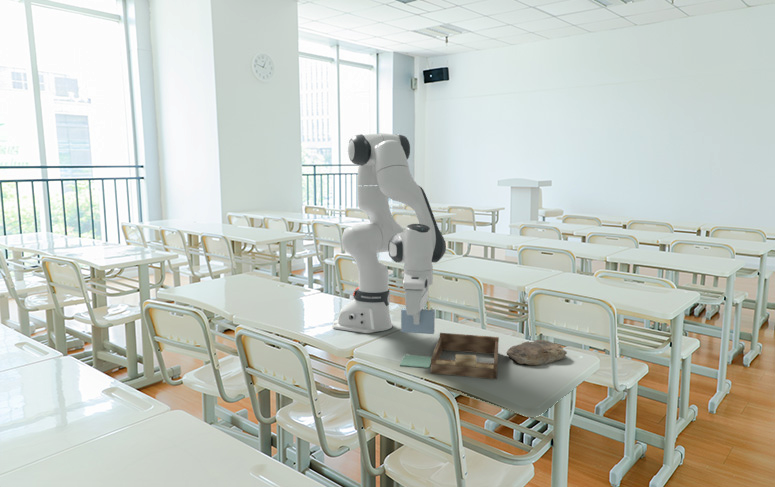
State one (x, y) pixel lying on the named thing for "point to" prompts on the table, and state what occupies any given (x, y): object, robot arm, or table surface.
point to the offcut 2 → (484, 366)
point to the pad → (416, 361)
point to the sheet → (424, 326)
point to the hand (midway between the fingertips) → (417, 322)
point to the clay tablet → (536, 352)
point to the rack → (466, 345)
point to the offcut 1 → (445, 362)
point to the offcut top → (465, 360)
